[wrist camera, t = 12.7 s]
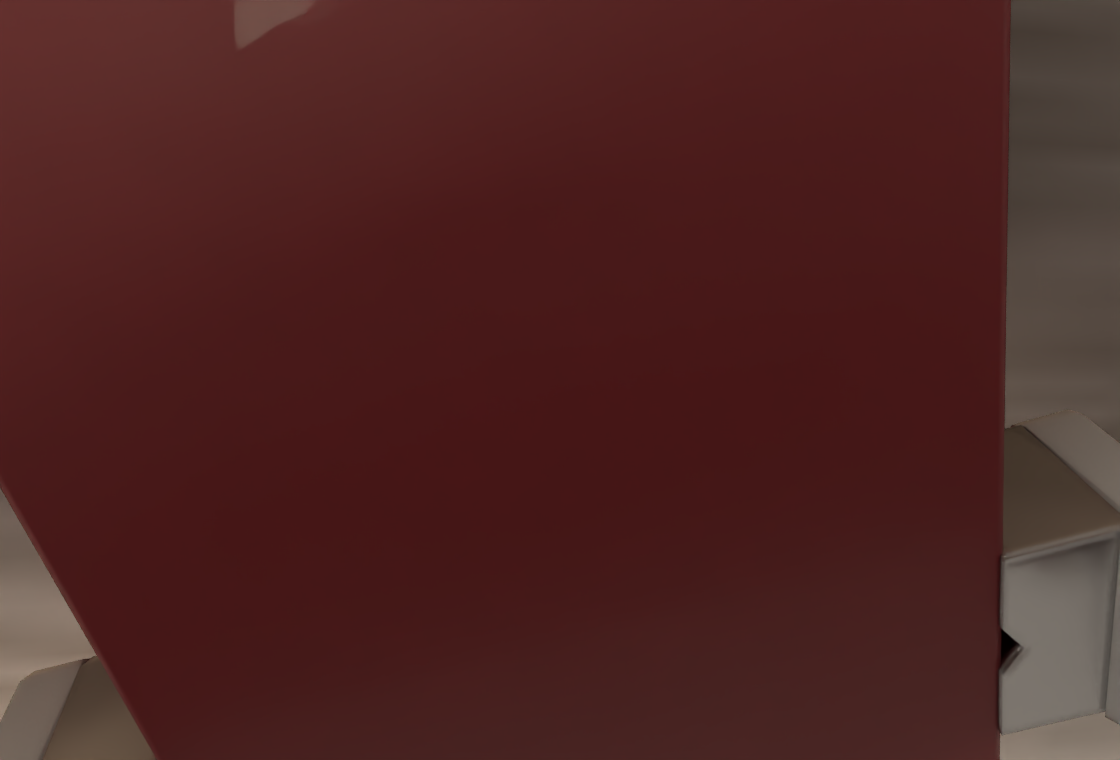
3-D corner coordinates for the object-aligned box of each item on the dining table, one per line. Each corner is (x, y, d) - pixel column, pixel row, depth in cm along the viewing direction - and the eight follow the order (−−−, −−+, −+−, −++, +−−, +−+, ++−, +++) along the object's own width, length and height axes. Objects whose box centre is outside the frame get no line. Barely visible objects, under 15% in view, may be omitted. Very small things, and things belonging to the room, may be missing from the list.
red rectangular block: (-161, -248, 6) (-475, -314, 4) (811, -466, 6) (1028, -643, 4) (440, 1038, 13) (450, 1276, 10) (898, 914, 13) (998, 1123, 11)
